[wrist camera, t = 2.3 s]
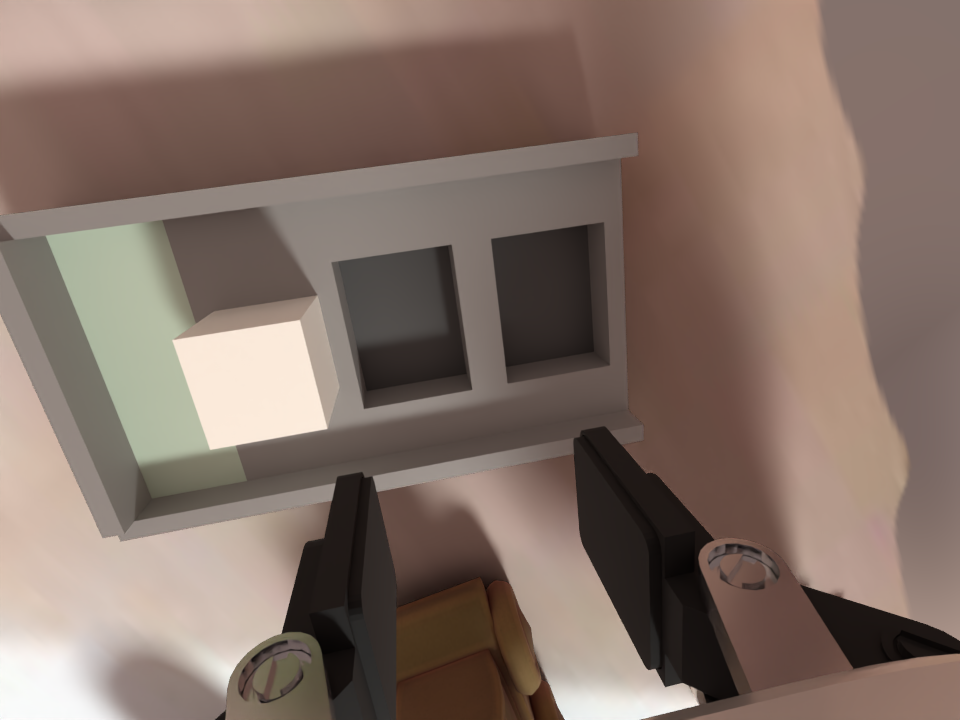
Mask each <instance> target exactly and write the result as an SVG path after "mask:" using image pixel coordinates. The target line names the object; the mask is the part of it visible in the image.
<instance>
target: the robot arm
mask: <svg viewBox="0 0 960 720" xmlns="http://www.w3.org/2000/svg"><path fill="white" fill-rule="evenodd" d="M573 448H574V462H575V475H576V489H577V503H578V517H579V530H580V537H581V540H582V544H583V546H584V548H585V550H586V552H587V554H588V556H589V558H590V560H591V562H592V564H593V566H594V568H595V570H596V572H597V574H598V576H599V578H600V580H601V582H602V584H603V585H604V587H605V589H606V591H607V593H608V595H609V597H610V599H611V601H612V603H613V605H614V607H615V609H616V611H617V613H618V615H619V617H620V619H621V621H622V622H623V624H624V626H625V628H626V630H627V632H628V634H629V636H630V638H631V640H632V642H633V644H634V646H635V648H636V650H637V652H638V654H639V656H640V658H641V659H642V661H643V663H644V665H645V667H646V668H647V669H648V670H651V669H656V671H657V672H658V674H659V676H660V678H661V680H662V682H663V684H664V686H665V687H667V686H671V685H675V684H679V683H684V684H686V685H689V686H690V687H691V691H692V693H693V695H694V697H695V699H696V701H697V702H698V704H699V706H695V707H690V708H686V709H682V710H678V711H674V712H670V713H666V714H662V715H658V716H653V717H649V718H645V719H641V720H960V641H959V640H957V639H956V638H954V637H952V636H950V635H949V634H947V633H945V632H944V631H941V630H939V629H936V628H934V627H931V626H929V625H926V624H923V623H920V622H917V621H914V620H911V619H907V618H904V617H901V616H898V615H895V614H891V613H888V612H885V611H882V610H879V609H875V608H872V607H869V606H866V605H863V604H860V603H856V602H853V601H850V600H847V599H844V598H840V597H837V596H834V595H831V594H828V593H824V592H821V591H818V590H815V589H812V588H808V587H805V586H802V585H800V584H799V583H798V581H797V580H796V578H795V577H794V575H793V573H792V572H791V570H790V569H789V567H788V566H787V564H786V563H785V562H784V561H783V559H782V558H781V557H780V556H779V555H778V554H776V553H775V552H773V551H772V550H771V549H769V548H768V547H765V546H763V545H761V544H759V543H756V542H753V541H749V540H745V539H740V538H723V539H716V540H714V539H713V538H712V536H711V535H710V534H709V533H708V532H707V531H706V530H705V529H704V528H703V526H702V525H701V524H700V523H699V522H698V521H697V520H696V519H695V517H694V516H693V515H692V514H691V513H690V512H689V511H688V510H687V508H686V507H685V506H684V505H683V504H682V503H681V502H680V501H679V499H678V498H677V497H676V496H675V495H674V494H673V493H672V492H671V490H670V489H669V488H668V487H667V486H666V485H665V484H664V483H663V481H662V480H661V479H660V478H659V477H658V476H657V475H655V474H654V473H648V474H646V473H645V472H644V471H643V470H642V468H641V467H640V466H639V465H638V464H637V463H636V461H635V460H634V459H633V458H632V457H631V456H630V454H629V453H628V452H627V451H626V450H625V449H624V447H623V446H622V445H621V444H620V443H619V442H618V441H617V439H616V438H615V437H614V436H613V435H612V434H611V432H610V431H609V430H608V429H607V428H606V427H605V426H602V427H596V428H591V429H586V430H581V432H580V437H576V438H574V440H573ZM396 589H397V588H396V576H395V570H394V566H393V561H392V557H391V552H390V548H389V544H388V539H387V535H386V530H385V526H384V522H383V517H382V513H381V508H380V504H379V500H378V495H377V491H376V487H375V482H374V479H373V477H372V476H371V477H364V474H363V472H358V473H353V474H347V475H342V476H338V477H337V479H336V484H335V489H334V494H333V499H332V503H331V508H330V513H329V518H328V523H327V528H326V532H325V537H324V538H323V539H318V540H313V541H308V542H307V543H306V544H305V546H304V549H303V553H302V557H301V560H300V564H299V568H298V572H297V576H296V580H295V584H294V588H293V591H292V595H291V599H290V603H289V607H288V611H287V615H286V619H285V623H284V626H283V630H282V634H280V635H277V636H274V637H272V638H270V639H268V640H266V641H264V642H262V643H260V644H259V645H257V646H256V647H255V648H254V649H252V650H251V651H250V652H248V653H247V654H246V655H245V657H244V658H243V659H242V660H241V661H240V662H239V663H238V664H237V666H236V668H235V670H234V671H233V673H232V675H231V677H230V680H229V684H228V688H227V700H226V711H224V712H223V713H222V714H221V715H220V716H219V717H218V718H217V719H215V720H396Z"/></svg>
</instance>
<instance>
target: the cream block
mask: <svg viewBox="0 0 960 720" xmlns="http://www.w3.org/2000/svg"><path fill="white" fill-rule="evenodd" d="M172 341H173V344H174V347H175V350H176V352H177V355H178V358H179V361H180V364H181V367H182V370H183V373H184V376H185V378H186V381H187V384H188V387H189V390H190V393H191V396H192V399H193V402H194V404H195V407H196V410H197V413H198V416H199V419H200V422H201V425H202V428H203V431H204V433H205V436H206V439H207V442H208V445H209V448H210V450H213V449H218V448H224V447H229V446H235V445H240V444H246V443H252V442H257V441H263V440H268V439H274V438H280V437H285V436H291V435H296V434H302V433H307V432H313V431H319V430H324V429H328V425H329V422H330V418H331V415H332V411H333V408H334V404H335V401H336V397H337V394H338V390H339V383H338V379H337V375H336V371H335V366H334V362H333V358H332V354H331V349H330V345H329V341H328V337H327V333H326V328H325V324H324V320H323V316H322V312H321V307H320V303H319V299H318V295H316V296H310V297H303V298H297V299H290V300H284V301H277V302H271V303H264V304H258V305H251V306H244V307H238V308H231V309H225V310H218V311H214V312H212V313H211V314H209V315H208V316H206V317H205V318H203V319H202V320H201V321H199V322H198V323H196V324H195V325H193V326H192V327H191V328H189V329H188V330H186V331H185V332H183V333H182V334H180V335H179V336H178V337H176V338H175V339H173V340H172Z"/></svg>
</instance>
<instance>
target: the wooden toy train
mask: <svg viewBox="0 0 960 720" xmlns="http://www.w3.org/2000/svg"><path fill="white" fill-rule="evenodd" d="M396 720H564V718H563V716H562V714H561V712H560V710H559V709H558V707H557V704H556V701H555V699H554V696H553V693H552V691H551V688H550V686H549V684H548V683H547V682H545V681H544V680H541V674H540V670H539V667H538V663H537V659H536V656H535V653H534V647H533V640H532V633H531V627H530V625H529V624H528V622H527V620H526V618H525V617H524V615H523V613H522V611H521V610H520V608H519V605H518V602H517V599H516V597H515V594H514V592H513V589H512V587H511V585H510V584H509V583H507V582H505V581H497V580H495V581H494V582H492V583H491V584H490V585H489V586H488V588H487V590H485V587H484V585H483V583H482V580H481V578H480V577H478V578H475V579H473V580H470V581H467V582H465V583H462V584H459V585H457V586H454V587H451V588H449V589H446V590H443V591H441V592H438V593H435V594H433V595H430V596H427V597H424V598H422V599H419V600H416V601H414V602H411V603H408V604H406V605H403V606H400V607H398V608H396Z"/></svg>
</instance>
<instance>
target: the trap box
mask: <svg viewBox="0 0 960 720" xmlns="http://www.w3.org/2000/svg"><path fill="white" fill-rule="evenodd" d="M633 156H638V133H630V134H622V135H615V136H607V137H599V138H592V139H584V140H576V141H568V142H561V143H553V144H545V145H538V146H530V147H522V148H515V149H507V150H499V151H492V152H484V153H476V154H468V155H461V156H453V157H445V158H438V159H430V160H422V161H415V162H407V163H399V164H392V165H384V166H376V167H368V168H361V169H353V170H345V171H338V172H330V173H322V174H315V175H307V176H299V177H292V178H284V179H276V180H268V181H261V182H253V183H245V184H238V185H230V186H222V187H215V188H207V189H199V190H191V191H184V192H176V193H168V194H161V195H153V196H145V197H138V198H130V199H122V200H115V201H107V202H99V203H91V204H84V205H76V206H68V207H61V208H53V209H45V210H38V211H30V212H22V213H15V214H7V215H0V314H1V317H2V319H3V321H4V323H5V325H6V328H7V330H8V332H9V334H10V336H11V338H12V341H13V343H14V345H15V347H16V349H17V352H18V354H19V356H20V358H21V360H22V363H23V365H24V367H25V369H26V371H27V373H28V376H29V378H30V380H31V382H32V384H33V387H34V389H35V391H36V393H37V395H38V398H39V400H40V402H41V404H42V406H43V408H44V411H45V413H46V415H47V417H48V419H49V422H50V424H51V426H52V428H53V430H54V433H55V435H56V437H57V439H58V441H59V444H60V446H61V448H62V450H63V452H64V454H65V457H66V459H67V461H68V463H69V465H70V468H71V470H72V472H73V474H74V476H75V479H76V481H77V483H78V485H79V487H80V489H81V492H82V494H83V496H84V498H85V500H86V503H87V505H88V507H89V509H90V511H91V514H92V516H93V518H94V520H95V522H96V524H97V527H98V529H99V531H100V533H101V535H102V538H106V537H111V536H116V535H118V537H119V539H120V541H126V540H131V539H136V538H141V537H147V536H152V535H157V534H162V533H167V532H173V531H178V530H183V529H188V528H193V527H198V526H204V525H209V524H214V523H219V522H224V521H230V520H235V519H240V518H245V517H250V516H255V515H261V514H266V513H271V512H276V511H281V510H286V509H292V508H297V507H302V506H307V505H312V504H318V503H323V502H328V501H332V499H333V494H334V489H335V484H336V479H337V477H338V476H342V475H347V474H353V473H358V472H363V474H364V477H371V476H372V477H373V479H374V482H375V487H376V491H377V492H380V491H385V490H390V489H395V488H400V487H406V486H411V485H416V484H421V483H426V482H432V481H437V480H442V479H447V478H452V477H457V476H463V475H468V474H473V473H478V472H483V471H489V470H494V469H499V468H504V467H509V466H514V465H520V464H525V463H530V462H535V461H540V460H545V459H551V458H556V457H561V456H566V455H571V454H574V448H573V440H574V438H576V437H580V432H581V430H586V429H591V428H596V427H602V426H605V427H606V428H607V429H608V430H609V431H610V432H611V434H612V435H613V436H614V437H615V438H616V439H617V441H618V442H619V443H620V444H621V445H623V444H628V443H634V442H639V441H644V425H643V424H642V423H641V422H640V421H639V420H638V419H637V418H636V417H635V416H634V415H633V414H632V413H631V412H630V411H629V410H628V378H627V345H626V312H625V280H624V247H623V214H622V181H621V158H626V157H633ZM316 295H318V299H319V303H320V307H321V312H322V316H323V320H324V324H325V328H326V333H327V337H328V341H329V345H330V349H331V354H332V358H333V362H334V366H335V371H336V375H337V379H338V383H339V390H338V394H337V397H336V401H335V404H334V408H333V411H332V415H331V418H330V422H329V425H328V429H324V430H319V431H313V432H307V433H302V434H296V435H291V436H285V437H280V438H274V439H268V440H263V441H257V442H252V443H246V444H240V445H235V446H229V447H224V448H218V449H213V450H210V448H209V445H208V442H207V439H206V436H205V433H204V431H203V428H202V425H201V422H200V419H199V416H198V413H197V410H196V407H195V404H194V402H193V399H192V396H191V393H190V390H189V387H188V384H187V381H186V378H185V376H184V373H183V370H182V367H181V364H180V361H179V358H178V355H177V352H176V350H175V347H174V344H173V341H172V340H173V339H175V338H176V337H178V336H179V335H180V334H182V333H183V332H185V331H186V330H188V329H189V328H191V327H192V326H193V325H195V324H196V323H198V322H199V321H201V320H202V319H203V318H205V317H206V316H208V315H209V314H211V313H212V312H214V311H218V310H225V309H231V308H238V307H244V306H251V305H258V304H264V303H271V302H277V301H284V300H290V299H297V298H303V297H310V296H316Z"/></svg>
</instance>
